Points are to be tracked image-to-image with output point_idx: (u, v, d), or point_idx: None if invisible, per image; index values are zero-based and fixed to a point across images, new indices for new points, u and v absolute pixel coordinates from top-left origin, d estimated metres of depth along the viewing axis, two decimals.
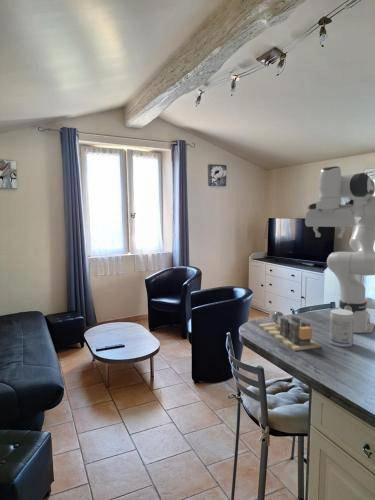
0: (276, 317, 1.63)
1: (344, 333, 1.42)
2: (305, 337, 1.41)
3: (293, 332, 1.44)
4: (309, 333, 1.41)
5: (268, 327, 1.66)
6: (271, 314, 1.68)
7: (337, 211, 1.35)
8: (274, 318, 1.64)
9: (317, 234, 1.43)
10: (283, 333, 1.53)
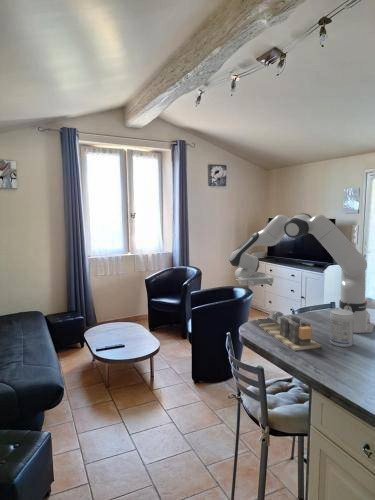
0: (276, 317, 1.63)
1: (344, 333, 1.42)
2: (305, 337, 1.41)
3: (293, 332, 1.44)
4: (309, 333, 1.41)
5: (268, 327, 1.66)
6: (271, 314, 1.68)
7: None
8: (274, 318, 1.64)
9: (268, 284, 1.81)
10: (283, 333, 1.53)
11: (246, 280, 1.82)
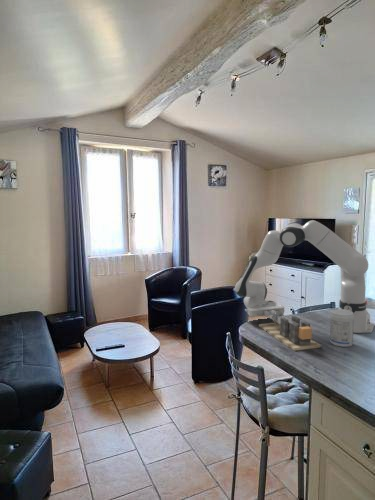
0: (276, 317, 1.63)
1: (344, 333, 1.42)
2: (305, 337, 1.41)
3: (293, 332, 1.44)
4: (309, 333, 1.41)
5: (268, 327, 1.66)
6: (271, 314, 1.68)
7: None
8: (274, 318, 1.63)
9: None
10: (283, 333, 1.53)
11: (256, 311, 1.73)
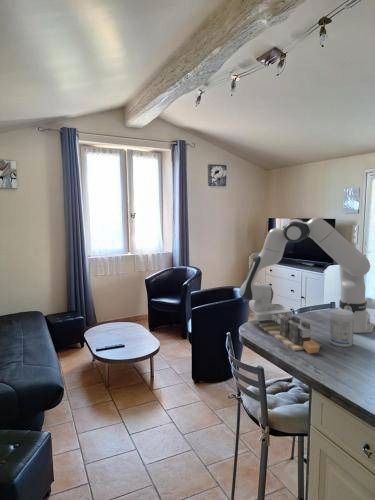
0: None
1: (344, 333, 1.42)
2: None
3: (293, 332, 1.44)
4: None
5: (268, 327, 1.66)
6: (279, 319, 1.60)
7: None
8: None
9: None
10: (283, 333, 1.53)
11: (262, 315, 1.66)
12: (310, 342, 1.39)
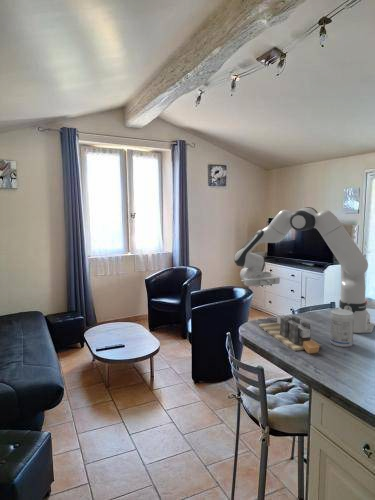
0: None
1: (344, 333, 1.42)
2: None
3: (293, 332, 1.44)
4: None
5: (268, 327, 1.66)
6: (279, 319, 1.60)
7: None
8: None
9: (268, 284, 1.75)
10: (283, 333, 1.53)
11: (252, 281, 1.76)
12: (310, 342, 1.39)
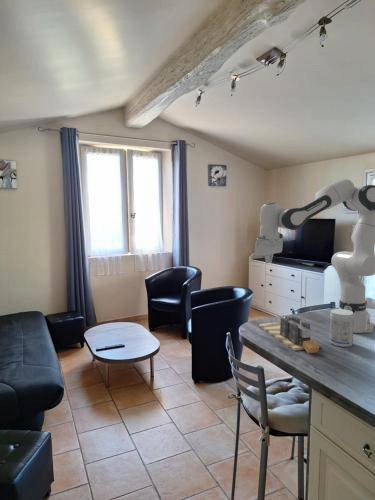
0: None
1: (344, 333, 1.42)
2: None
3: (293, 332, 1.44)
4: None
5: (268, 327, 1.66)
6: (279, 319, 1.60)
7: None
8: None
9: None
10: (283, 333, 1.53)
11: None
12: (310, 342, 1.39)
